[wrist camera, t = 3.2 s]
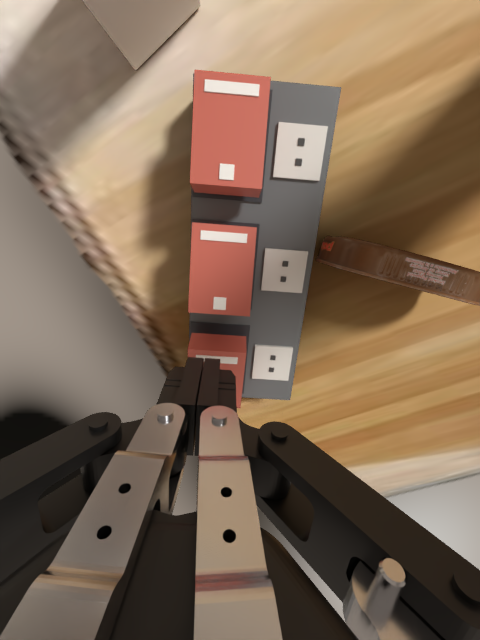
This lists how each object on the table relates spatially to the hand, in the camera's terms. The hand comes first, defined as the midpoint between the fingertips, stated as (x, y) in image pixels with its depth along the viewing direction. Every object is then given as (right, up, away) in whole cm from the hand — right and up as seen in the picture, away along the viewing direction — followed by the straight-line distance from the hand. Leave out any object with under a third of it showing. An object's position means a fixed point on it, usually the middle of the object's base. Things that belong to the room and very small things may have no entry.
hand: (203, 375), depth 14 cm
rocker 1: (+1, +16, +8) cm, 17 cm away
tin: (+16, +9, +17) cm, 25 cm away
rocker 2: (0, +7, +11) cm, 13 cm away
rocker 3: (-1, -2, +15) cm, 15 cm away
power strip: (+3, +9, +17) cm, 19 cm away
